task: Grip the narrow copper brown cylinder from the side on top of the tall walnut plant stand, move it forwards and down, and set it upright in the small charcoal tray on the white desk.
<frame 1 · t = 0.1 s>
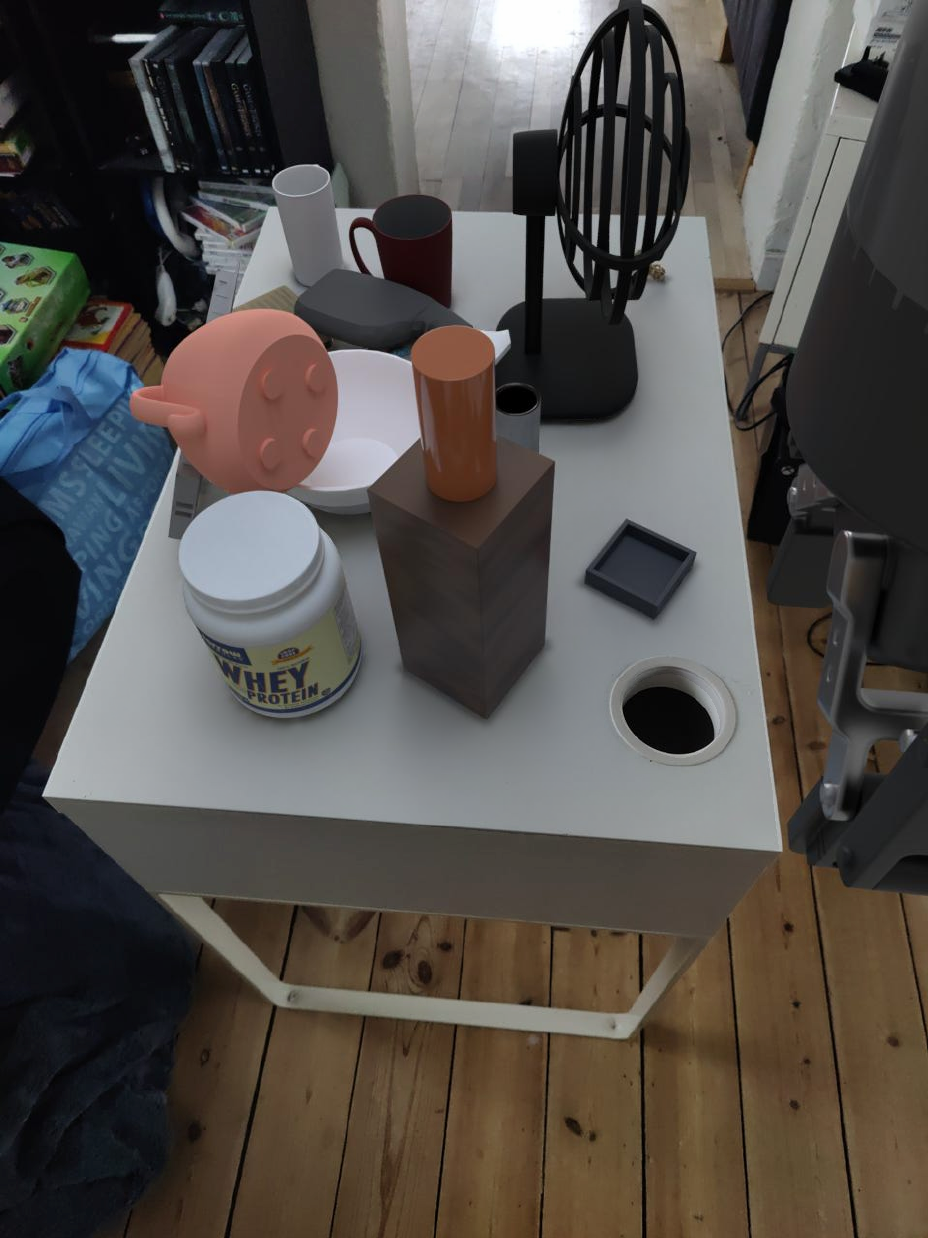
hand: (809, 710, 26), 41 cm above the table, tool pointing down, fingers open, 8 cm apart
supplement tub: (297, 663, 76), on the table
bowl: (356, 476, 89), on the table, touching teapot
copper brown cylinder: (461, 475, 57), point 23 cm above the table, touching plant stand
desk fan: (572, 365, 97), on the table
stone: (382, 346, 97), point 2 cm above the table, touching spray bottle
building model: (216, 406, 84), point 8 cm above the table, touching teapot
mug: (324, 266, 110), on the table
ink box: (311, 314, 101), point 2 cm above the table
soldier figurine: (636, 258, 103), point 3 cm above the table
gray hollow tube: (515, 477, 88), on the table
spray bottle: (312, 294, 98), point 5 cm above the table, touching stone
teapot: (304, 414, 71), point 16 cm above the table, touching bowl, building model
mug 2: (408, 303, 105), on the table
plant stand: (474, 656, 76), on the table
tray: (638, 574, 80), on the table
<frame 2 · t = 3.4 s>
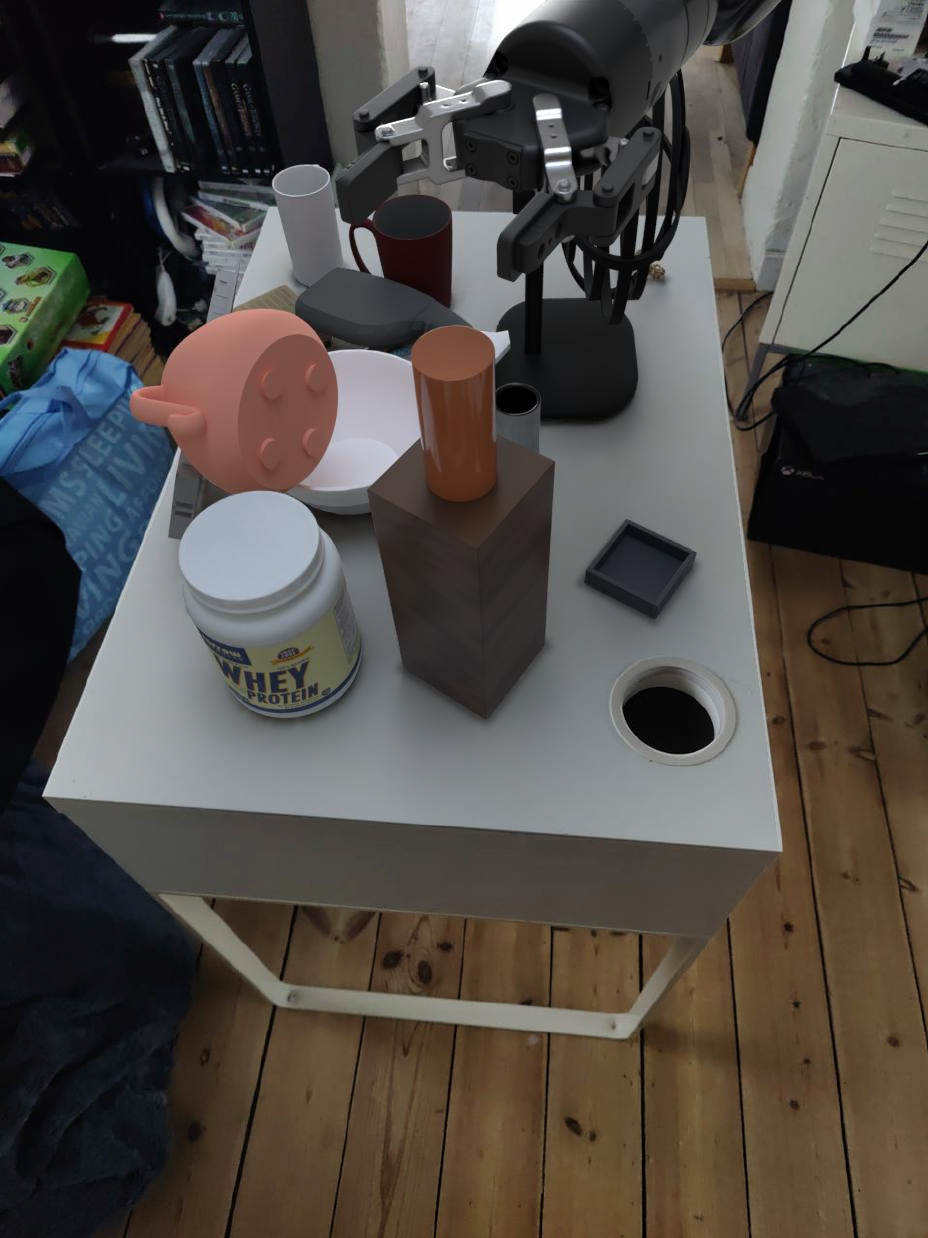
hand: (421, 233, 38), 43 cm above the table, tool horizontal, fingers open, 8 cm apart
ink box: (311, 313, 101), point 2 cm above the table, touching spray bottle
spray bottle: (313, 292, 98), point 5 cm above the table, touching ink box, stone
everything else where it was.
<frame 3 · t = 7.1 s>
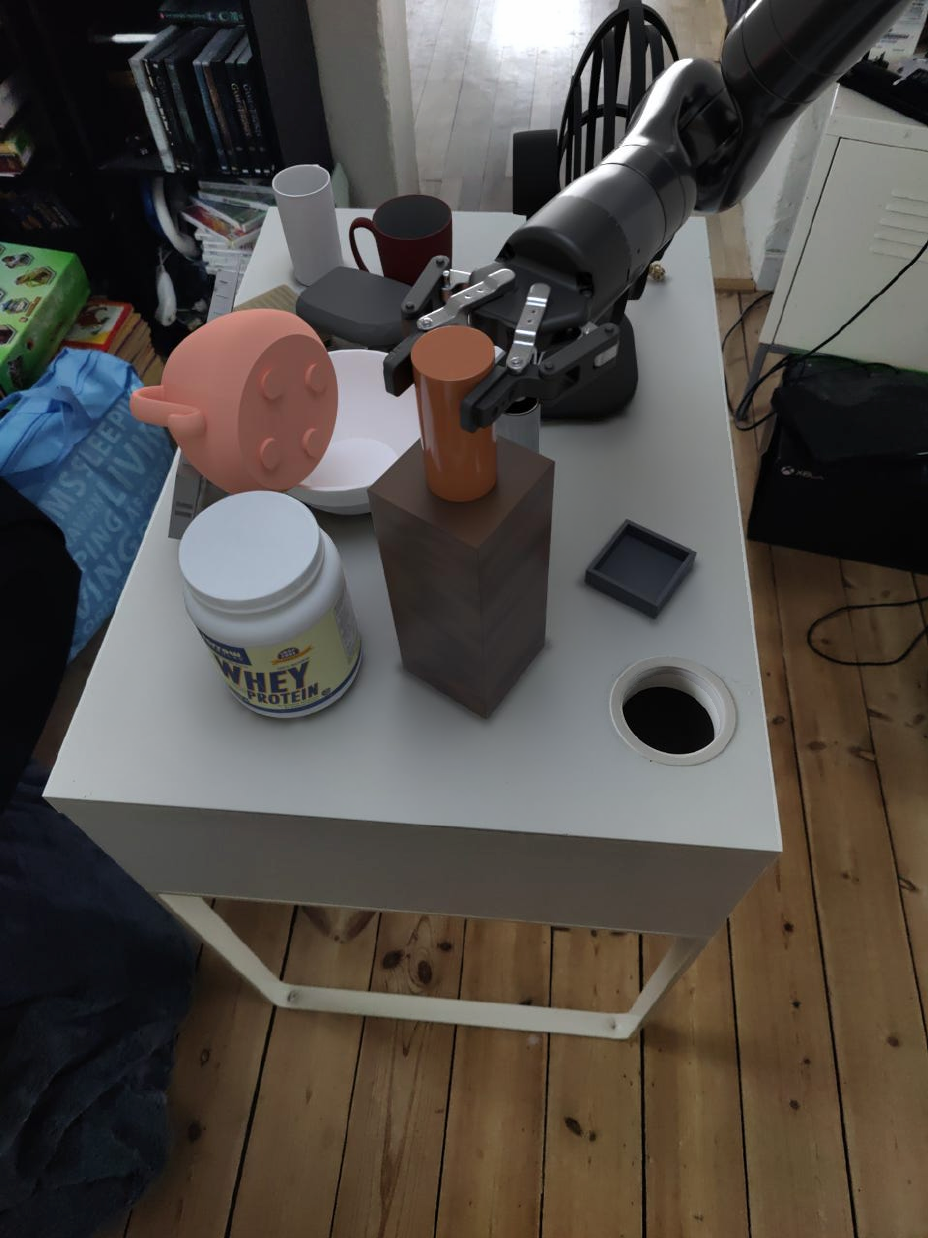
hand: (427, 400, 49), 31 cm above the table, tool horizontal, fingers closed on copper brown cylinder, 5 cm apart
copper brown cylinder: (461, 475, 57), point 23 cm above the table, touching gripper, plant stand
desk fan: (572, 365, 97), on the table, touching arm
spray bottle: (315, 290, 98), point 5 cm above the table, touching ink box, mug 2, stone
mug 2: (408, 303, 105), on the table, touching spray bottle
everything else where it was.
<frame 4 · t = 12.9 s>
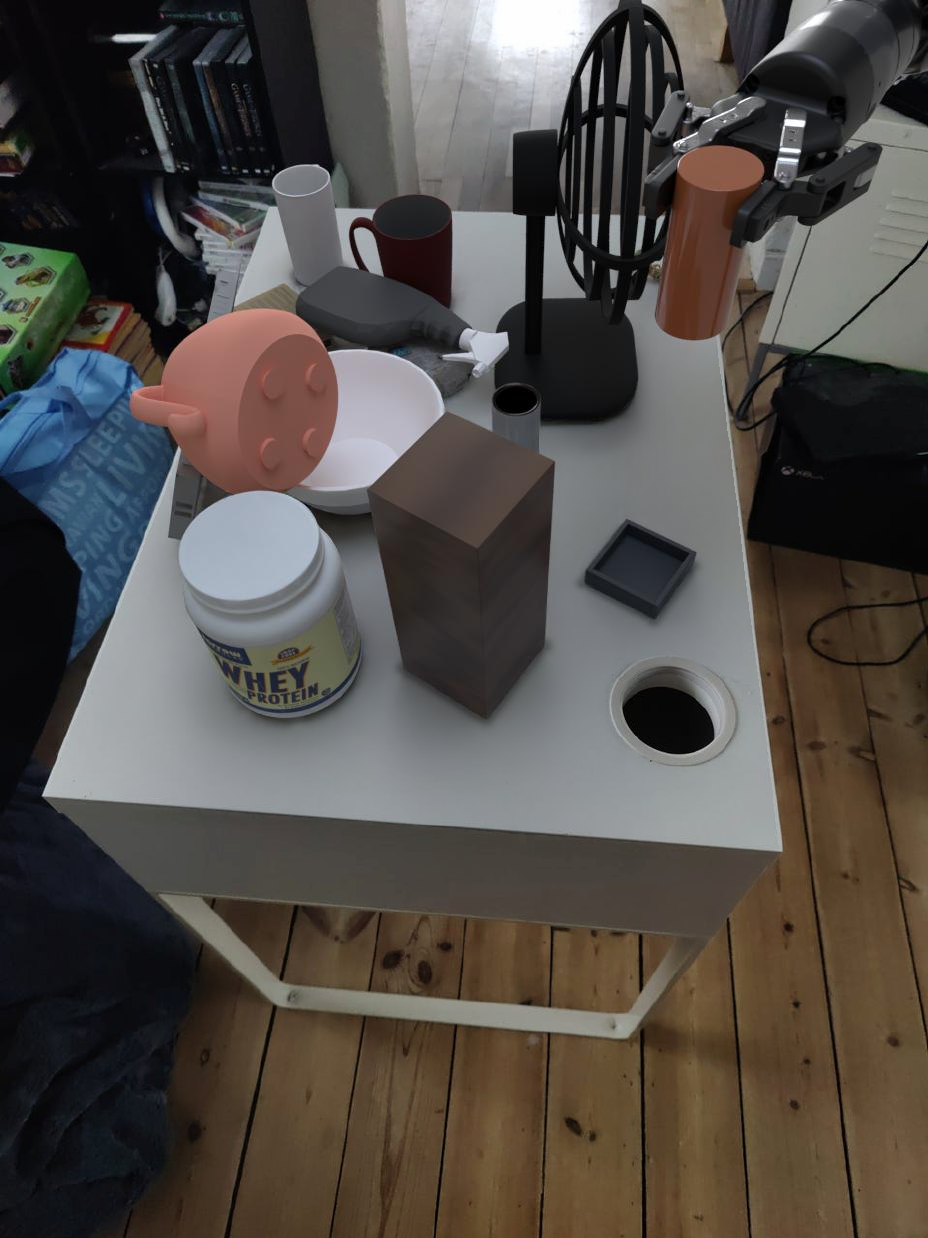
hand: (694, 216, 49), 37 cm above the table, tool horizontal, fingers closed on copper brown cylinder, 5 cm apart
copper brown cylinder: (691, 317, 57), point 28 cm above the table, touching gripper
desk fan: (572, 365, 97), on the table
spray bottle: (315, 290, 98), point 5 cm above the table, touching ink box, stone
mug 2: (408, 303, 105), on the table
everything else where it was.
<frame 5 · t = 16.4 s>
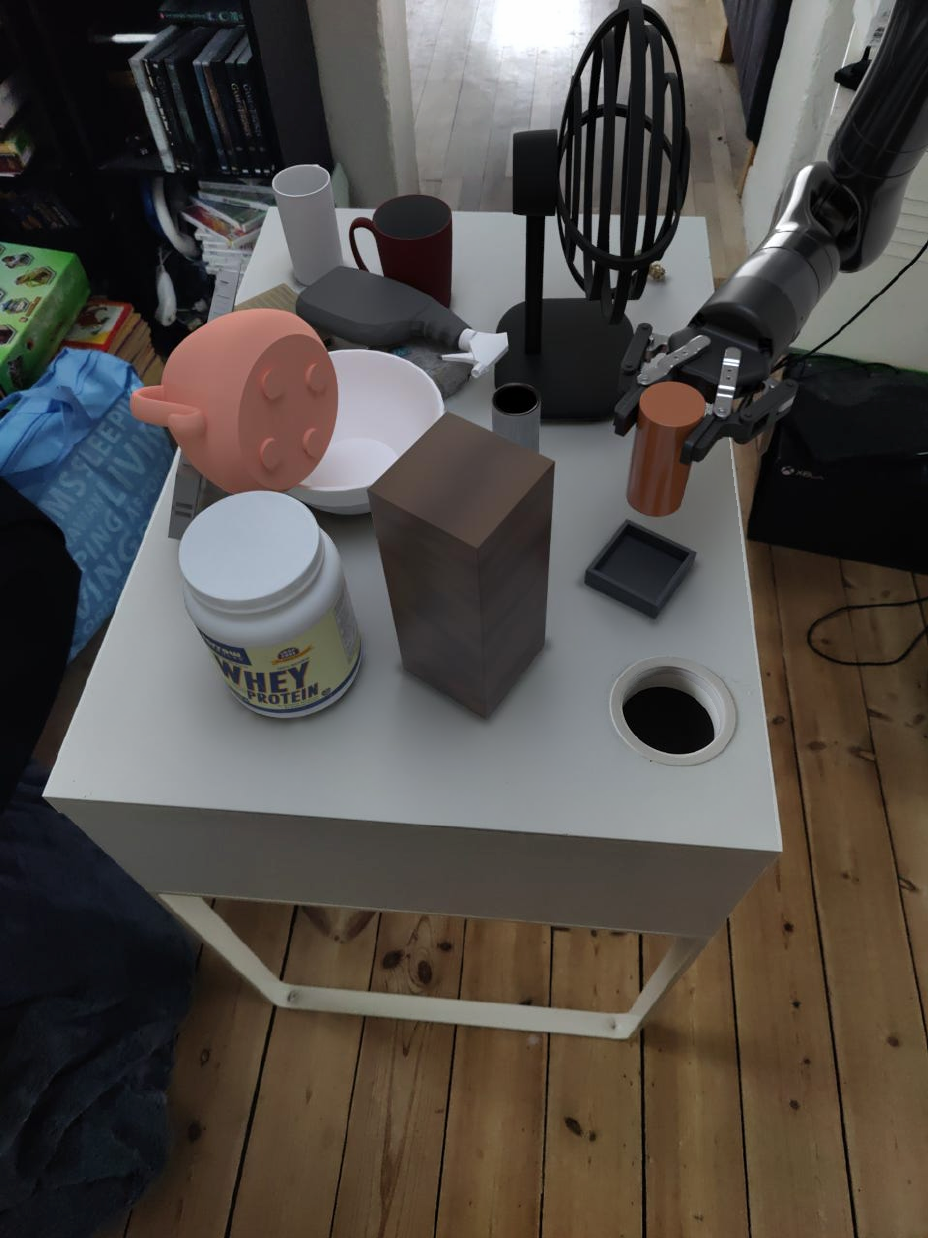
hand: (652, 440, 63), 19 cm above the table, tool horizontal, fingers closed on copper brown cylinder, 5 cm apart
copper brown cylinder: (654, 495, 71), point 11 cm above the table, touching gripper
everything else where it was.
when the fingers open (9 cm above the table, at t = 19.0 s): copper brown cylinder stays where it is, resting on tray.
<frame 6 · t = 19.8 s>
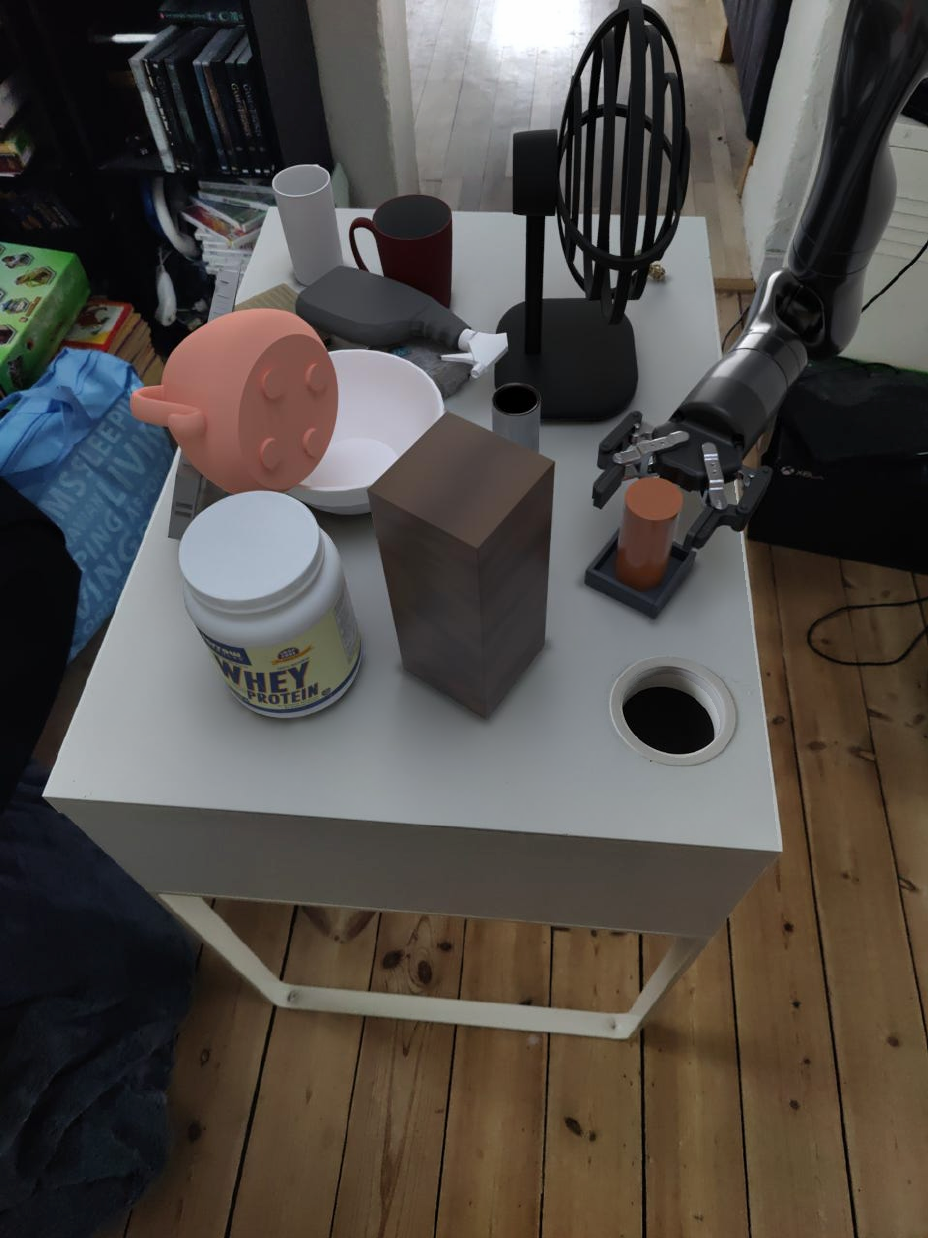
hand: (641, 522, 72), 9 cm above the table, tool horizontal, fingers open, 8 cm apart
copper brown cylinder: (639, 570, 80), resting on tray
spray bottle: (315, 290, 98), point 5 cm above the table, touching ink box, mug 2, stone
mug 2: (408, 303, 105), on the table, touching spray bottle
everything else where it was.
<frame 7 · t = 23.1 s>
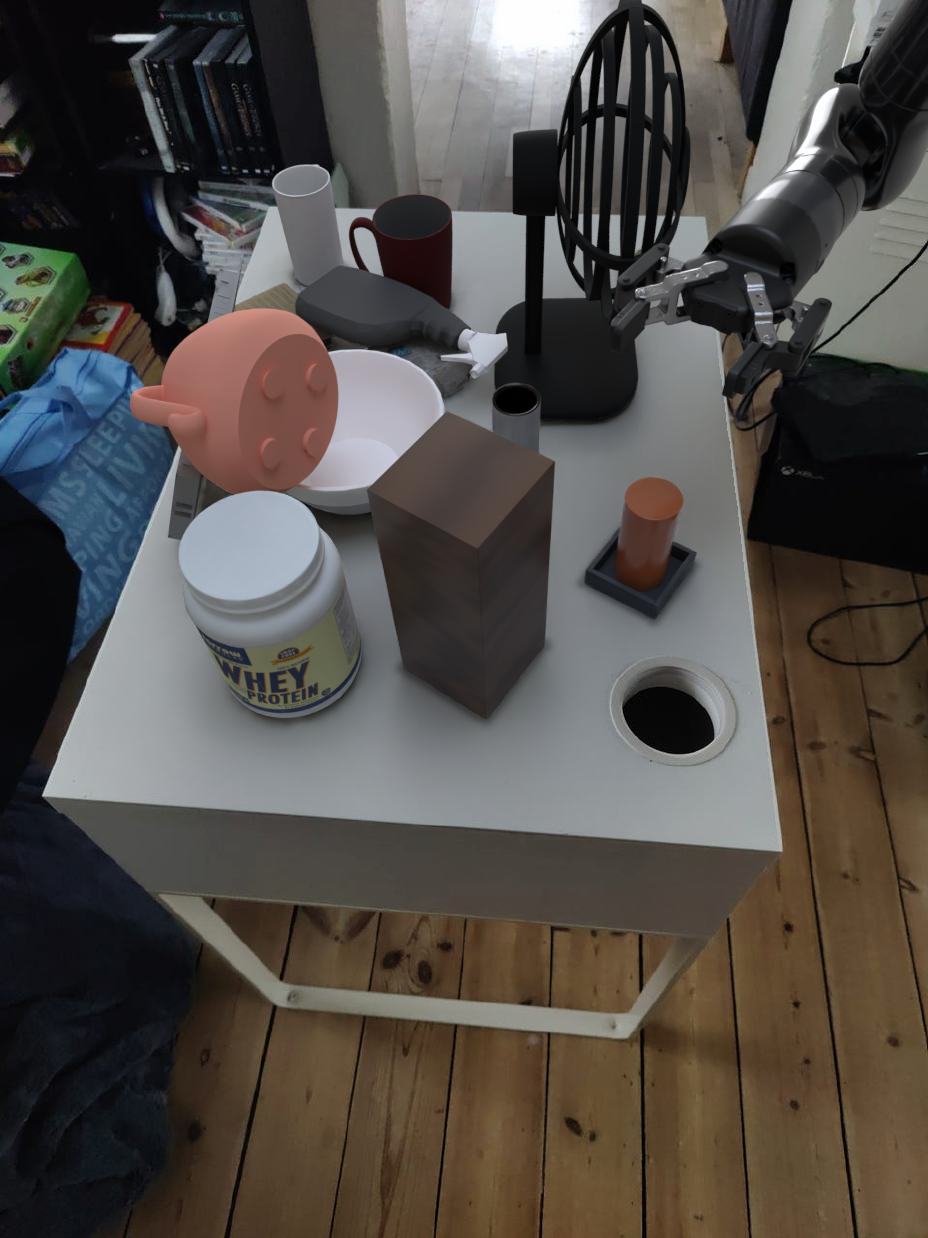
hand: (671, 364, 58), 26 cm above the table, tool horizontal, fingers open, 8 cm apart
nothing on the table moved.
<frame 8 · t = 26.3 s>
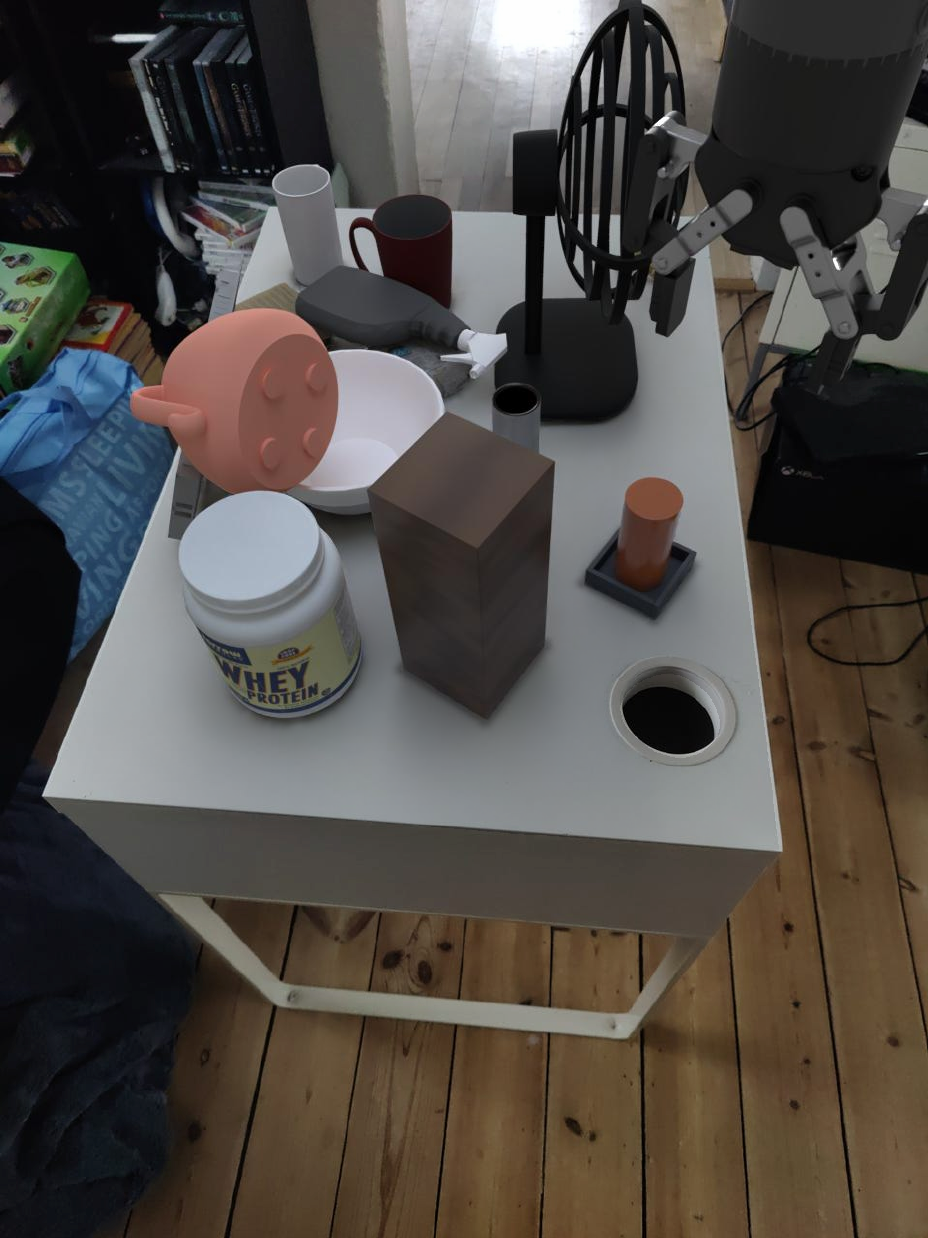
hand: (740, 354, 46), 34 cm above the table, tool pointing down, fingers open, 8 cm apart
nothing on the table moved.
at the end: copper brown cylinder 0.1 cm off-centre in the tray, point 0.4 cm above the tray's base; copper brown cylinder tilted 0° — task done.
